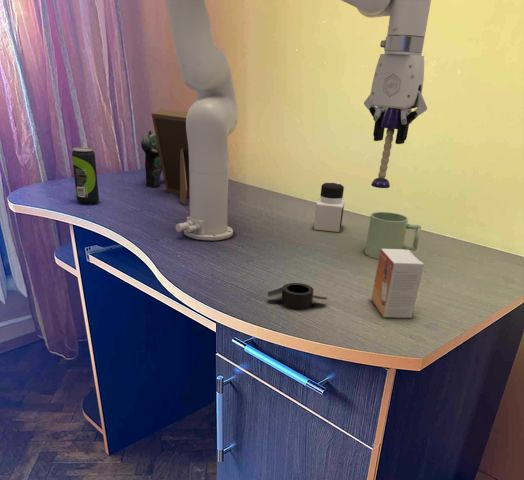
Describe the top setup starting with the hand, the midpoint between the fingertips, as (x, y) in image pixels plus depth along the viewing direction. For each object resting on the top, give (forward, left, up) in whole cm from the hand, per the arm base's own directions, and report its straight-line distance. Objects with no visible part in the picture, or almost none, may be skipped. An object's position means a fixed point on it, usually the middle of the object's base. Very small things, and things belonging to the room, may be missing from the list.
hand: (388, 141), depth 115 cm
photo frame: (+2, +68, -26) cm, 73 cm away
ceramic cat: (+12, +89, -26) cm, 94 cm away
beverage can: (-25, +81, -26) cm, 89 cm away
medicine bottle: (+10, +19, -26) cm, 34 cm away
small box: (-28, -20, -26) cm, 43 cm away
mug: (+2, -4, -26) cm, 26 cm away
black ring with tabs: (-39, -6, -26) cm, 47 cm away
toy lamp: (0, 0, -10) cm, 10 cm away
